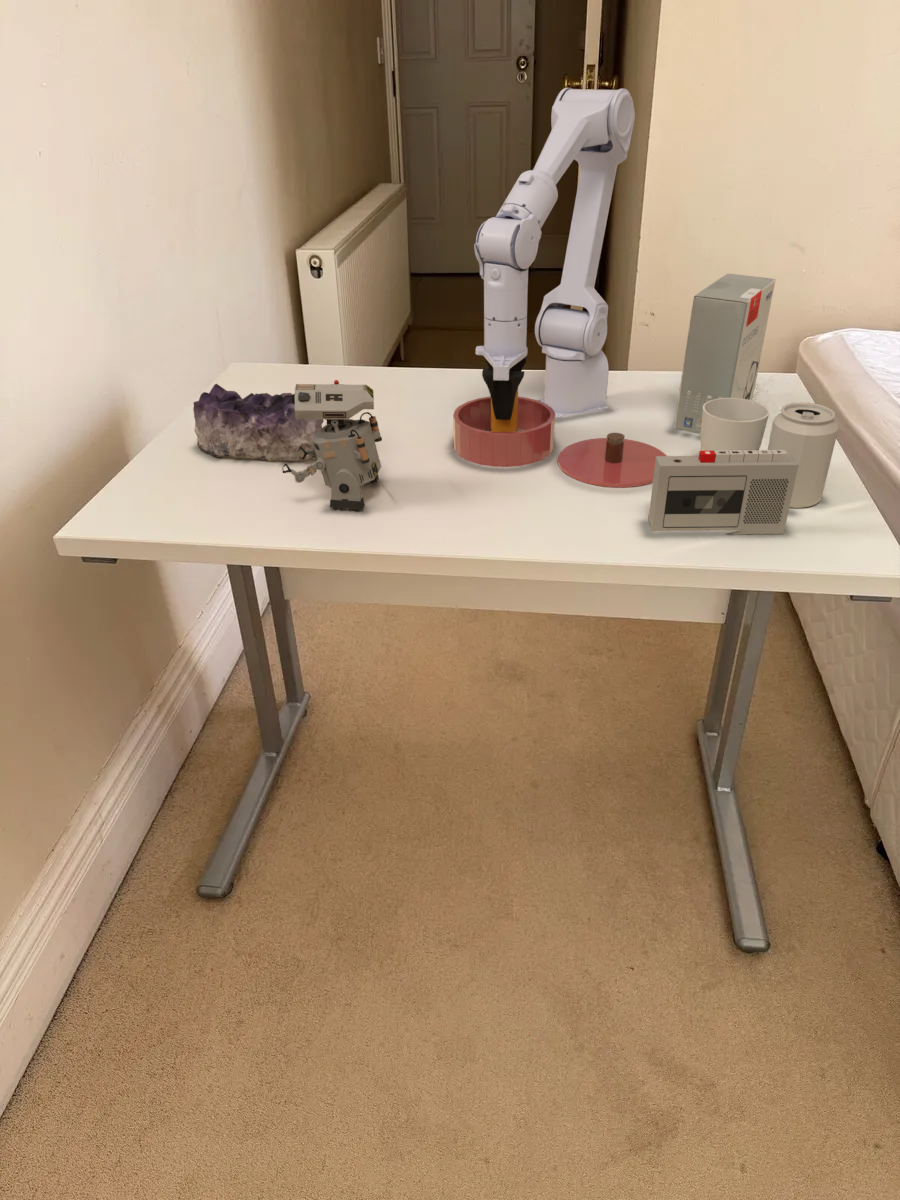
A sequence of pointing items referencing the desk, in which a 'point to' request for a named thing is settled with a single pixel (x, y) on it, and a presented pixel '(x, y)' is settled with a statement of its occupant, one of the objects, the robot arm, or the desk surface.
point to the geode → (252, 426)
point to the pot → (503, 434)
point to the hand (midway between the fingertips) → (504, 412)
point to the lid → (610, 461)
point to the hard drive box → (723, 345)
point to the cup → (733, 424)
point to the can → (806, 447)
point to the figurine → (340, 439)
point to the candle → (505, 424)
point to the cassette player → (723, 491)
